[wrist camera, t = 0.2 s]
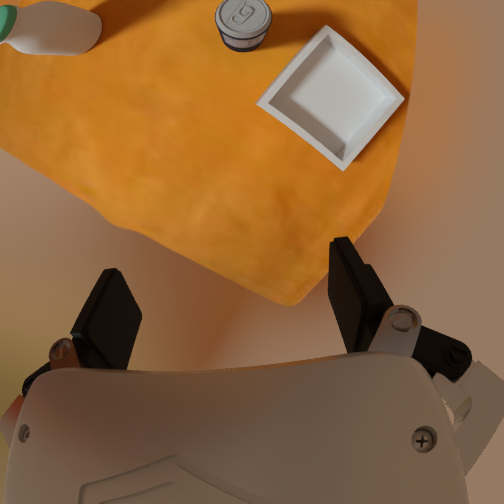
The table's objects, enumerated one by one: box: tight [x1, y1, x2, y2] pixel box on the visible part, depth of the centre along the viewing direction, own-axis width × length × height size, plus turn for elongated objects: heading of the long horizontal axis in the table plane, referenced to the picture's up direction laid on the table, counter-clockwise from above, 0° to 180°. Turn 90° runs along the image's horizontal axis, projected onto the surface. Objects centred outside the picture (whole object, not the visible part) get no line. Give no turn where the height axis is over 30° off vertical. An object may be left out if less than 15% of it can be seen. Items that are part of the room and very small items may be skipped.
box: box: [255, 25, 404, 171], centre depth 32 cm, size 15×15×4 cm
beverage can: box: [215, 0, 272, 52], centre depth 23 cm, size 6×6×12 cm
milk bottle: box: [0, 1, 102, 56], centre depth 16 cm, size 8×8×20 cm
